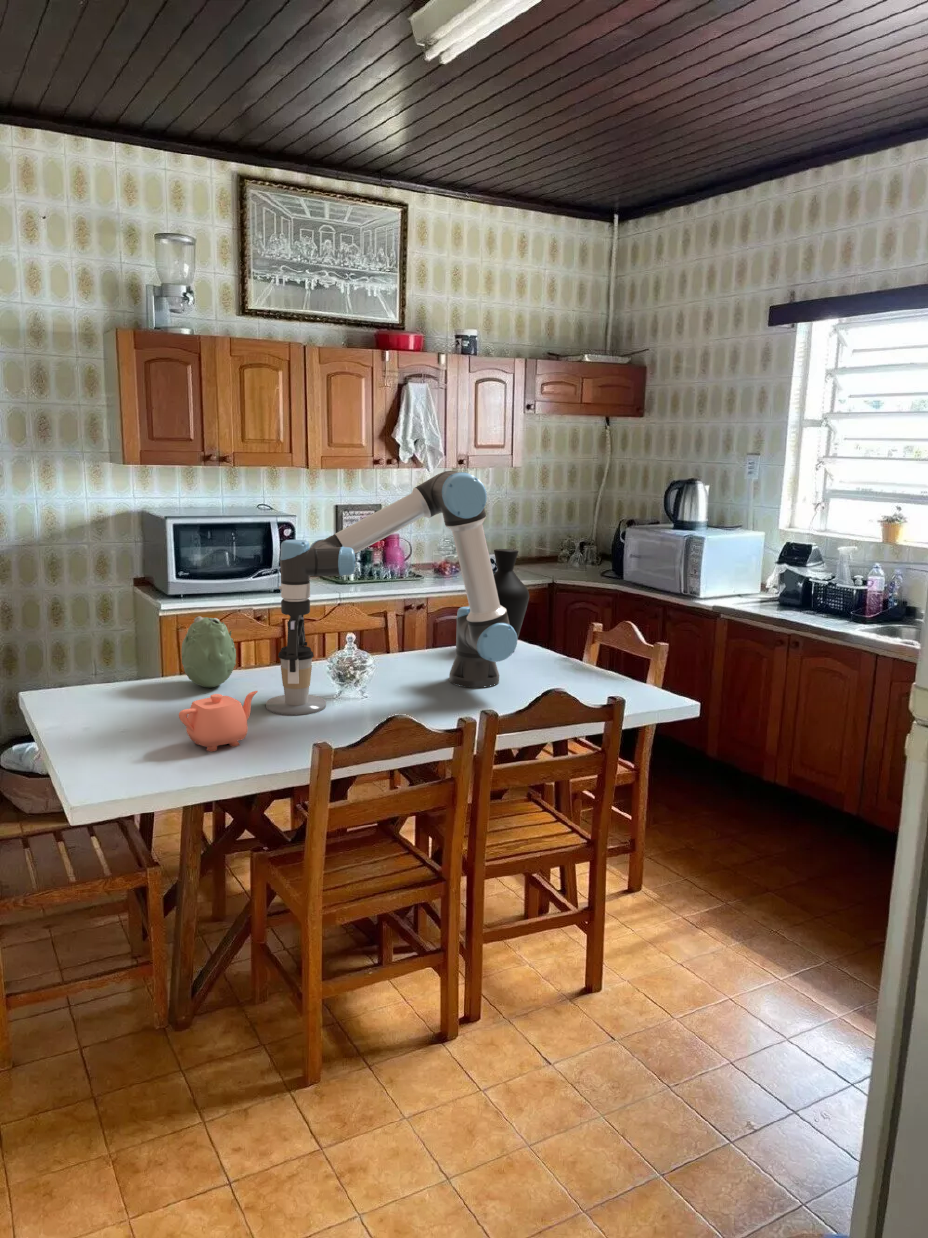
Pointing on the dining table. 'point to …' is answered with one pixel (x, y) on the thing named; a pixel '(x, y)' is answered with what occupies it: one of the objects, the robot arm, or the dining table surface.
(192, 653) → the green bumpy egg shape
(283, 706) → the coaster
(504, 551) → the vase
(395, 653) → the dining table surface
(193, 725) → the teapot
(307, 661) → the coffee cup
